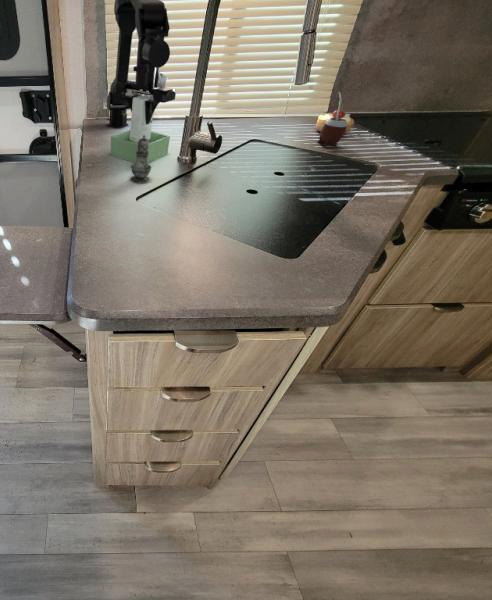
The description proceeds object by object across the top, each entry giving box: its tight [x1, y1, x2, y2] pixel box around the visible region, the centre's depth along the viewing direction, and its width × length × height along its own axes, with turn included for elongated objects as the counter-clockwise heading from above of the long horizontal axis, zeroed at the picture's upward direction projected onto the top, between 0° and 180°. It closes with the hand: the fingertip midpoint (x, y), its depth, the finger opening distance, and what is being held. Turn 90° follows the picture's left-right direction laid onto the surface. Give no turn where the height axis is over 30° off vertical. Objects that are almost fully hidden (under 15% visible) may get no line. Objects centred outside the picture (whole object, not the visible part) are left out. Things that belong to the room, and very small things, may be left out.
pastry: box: [316, 105, 355, 135], centre depth 123 cm, size 12×12×9 cm
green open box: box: [110, 129, 171, 164], centre depth 107 cm, size 14×14×6 cm
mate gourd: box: [316, 91, 347, 148], centre depth 111 cm, size 8×8×15 cm
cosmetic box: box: [129, 94, 154, 143], centre depth 102 cm, size 6×4×12 cm
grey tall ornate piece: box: [130, 135, 153, 184], centre depth 90 cm, size 6×6×12 cm
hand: (141, 122), depth 103 cm, fingers closed on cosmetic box, 4 cm apart
